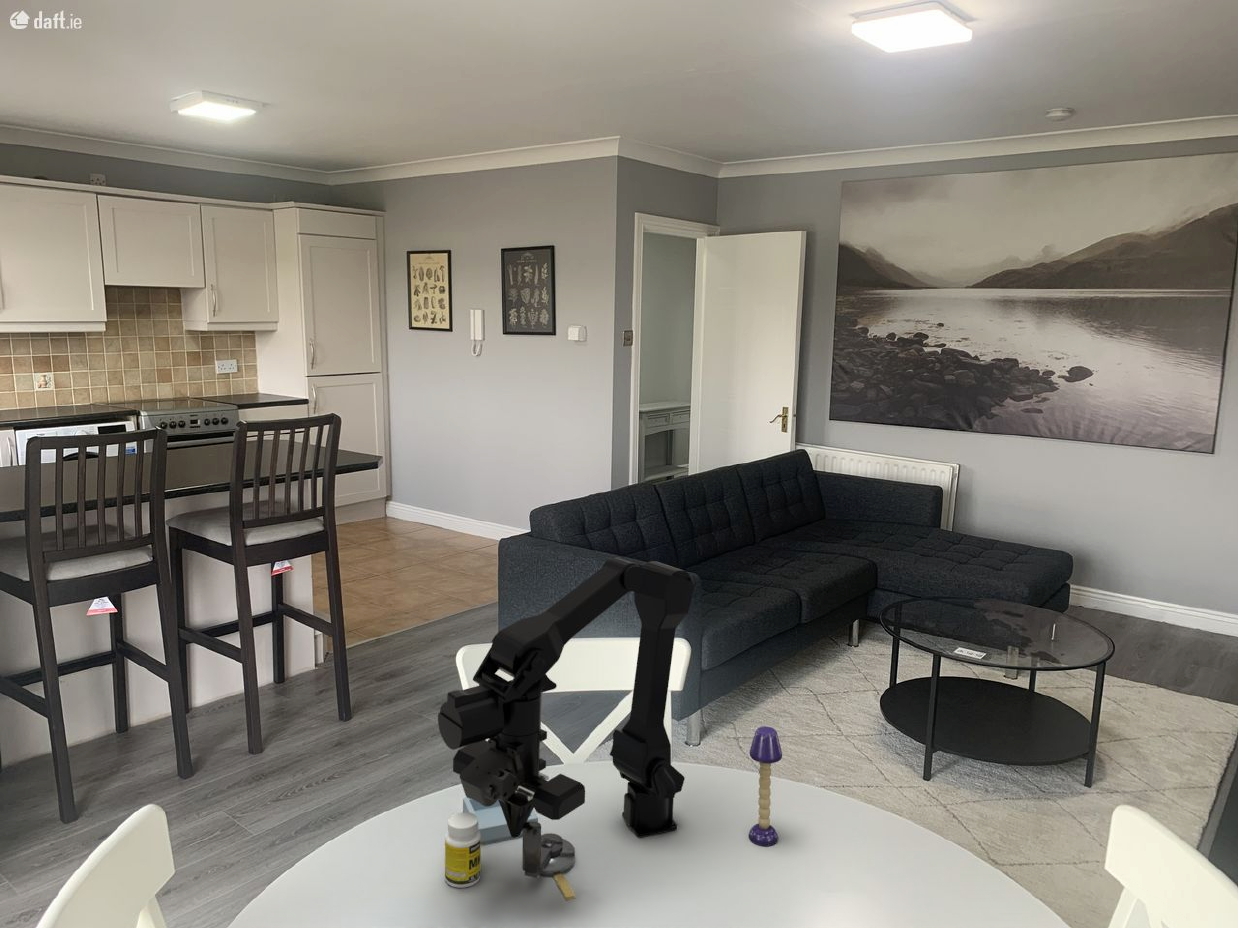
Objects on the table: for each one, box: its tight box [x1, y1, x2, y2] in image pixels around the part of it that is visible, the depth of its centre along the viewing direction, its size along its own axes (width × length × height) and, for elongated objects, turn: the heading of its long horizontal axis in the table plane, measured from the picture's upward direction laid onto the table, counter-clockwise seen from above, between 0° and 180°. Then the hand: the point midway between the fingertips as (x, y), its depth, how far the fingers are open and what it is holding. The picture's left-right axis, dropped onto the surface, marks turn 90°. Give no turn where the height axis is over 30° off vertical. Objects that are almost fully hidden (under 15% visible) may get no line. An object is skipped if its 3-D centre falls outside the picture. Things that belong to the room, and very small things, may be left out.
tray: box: [462, 796, 539, 846], centre depth 133 cm, size 9×9×2 cm
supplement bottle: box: [444, 811, 482, 889], centre depth 120 cm, size 5×5×8 cm
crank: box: [521, 821, 564, 879], centre depth 121 cm, size 10×4×7 cm, turn 163°
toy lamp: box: [748, 725, 783, 847], centre depth 131 cm, size 5×5×17 cm
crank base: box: [538, 838, 576, 901], centre depth 122 cm, size 7×12×2 cm, turn 22°
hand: (515, 836), depth 119 cm, fingers closed
